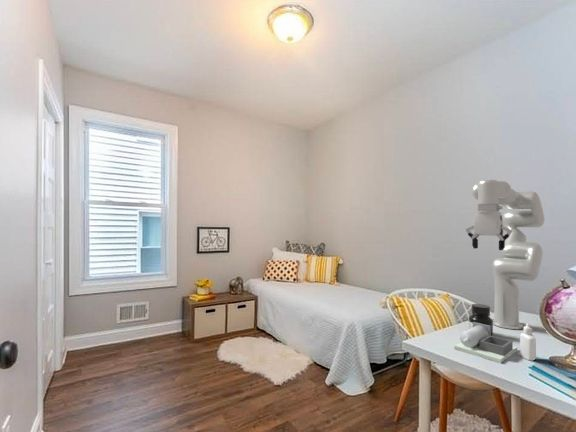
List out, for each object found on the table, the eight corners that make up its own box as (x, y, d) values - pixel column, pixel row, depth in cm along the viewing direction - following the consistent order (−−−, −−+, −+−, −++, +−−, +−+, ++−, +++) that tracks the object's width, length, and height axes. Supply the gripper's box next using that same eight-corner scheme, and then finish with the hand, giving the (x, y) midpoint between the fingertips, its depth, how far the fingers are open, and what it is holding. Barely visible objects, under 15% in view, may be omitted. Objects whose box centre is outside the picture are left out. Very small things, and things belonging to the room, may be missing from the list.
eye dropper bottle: (535, 356, 112) (535, 323, 112) (536, 362, 108) (536, 327, 108) (520, 353, 115) (520, 320, 115) (520, 358, 110) (520, 324, 110)
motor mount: (473, 338, 129) (473, 320, 130) (517, 350, 118) (517, 330, 118) (454, 348, 118) (454, 329, 118) (500, 363, 106) (500, 341, 107)
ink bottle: (464, 332, 137) (464, 304, 137) (473, 328, 142) (473, 302, 142) (488, 339, 129) (488, 309, 129) (497, 335, 134) (497, 306, 134)
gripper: (515, 208, 129) (515, 250, 129) (469, 209, 143) (469, 247, 142) (509, 208, 125) (508, 251, 124) (462, 209, 138) (462, 248, 138)
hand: (487, 249), depth 133 cm, fingers open, 9 cm apart
